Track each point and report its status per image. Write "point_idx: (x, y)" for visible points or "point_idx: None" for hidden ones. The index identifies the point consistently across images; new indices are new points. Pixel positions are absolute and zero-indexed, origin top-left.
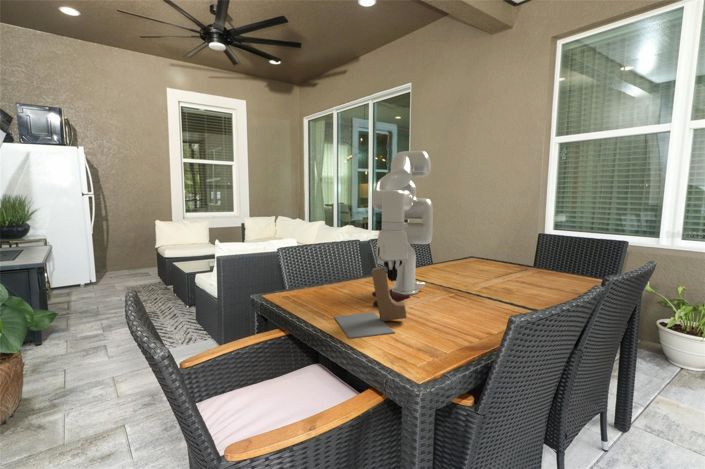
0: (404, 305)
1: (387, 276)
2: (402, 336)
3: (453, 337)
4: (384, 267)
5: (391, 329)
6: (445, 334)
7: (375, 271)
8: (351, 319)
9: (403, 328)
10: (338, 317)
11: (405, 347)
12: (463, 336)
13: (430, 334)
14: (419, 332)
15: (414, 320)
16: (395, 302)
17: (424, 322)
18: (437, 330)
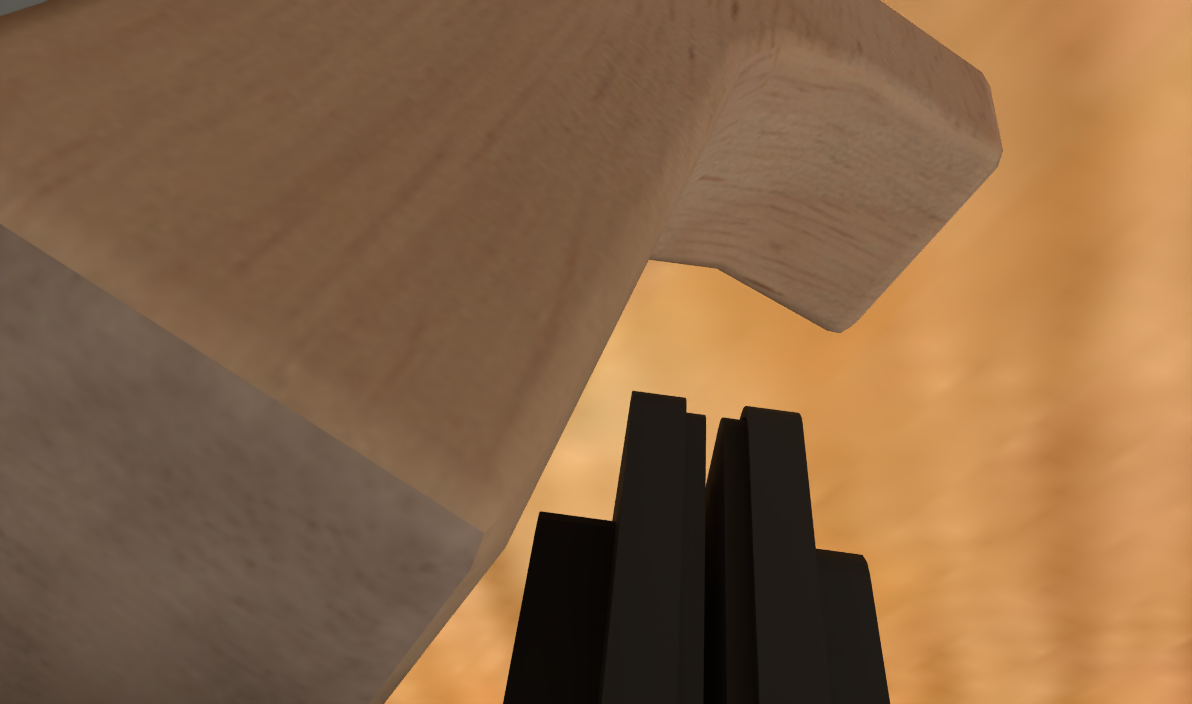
0: (879, 296)
1: (538, 521)
2: (566, 458)
3: (1020, 648)
4: (440, 611)
5: None
6: (1016, 582)
7: None
8: None
9: (711, 295)
10: None
11: (468, 621)
12: (1127, 668)
13: (876, 529)
14: (807, 452)
15: (1069, 115)
16: (788, 160)
17: (1129, 241)
18: (1036, 488)
